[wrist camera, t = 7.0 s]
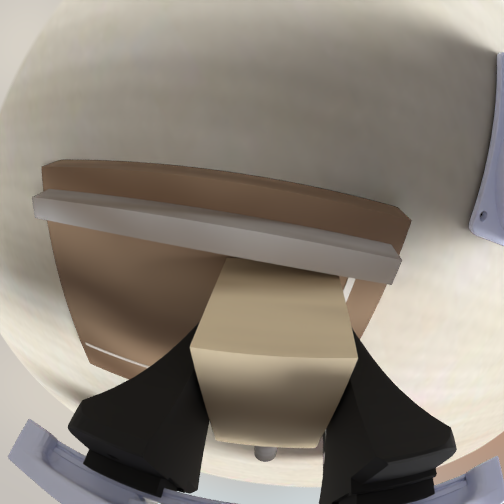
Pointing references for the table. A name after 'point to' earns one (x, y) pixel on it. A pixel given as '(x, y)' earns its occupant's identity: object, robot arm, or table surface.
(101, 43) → the table surface
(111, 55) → the table surface
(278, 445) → the block
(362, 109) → the table surface
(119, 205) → the walnut board
